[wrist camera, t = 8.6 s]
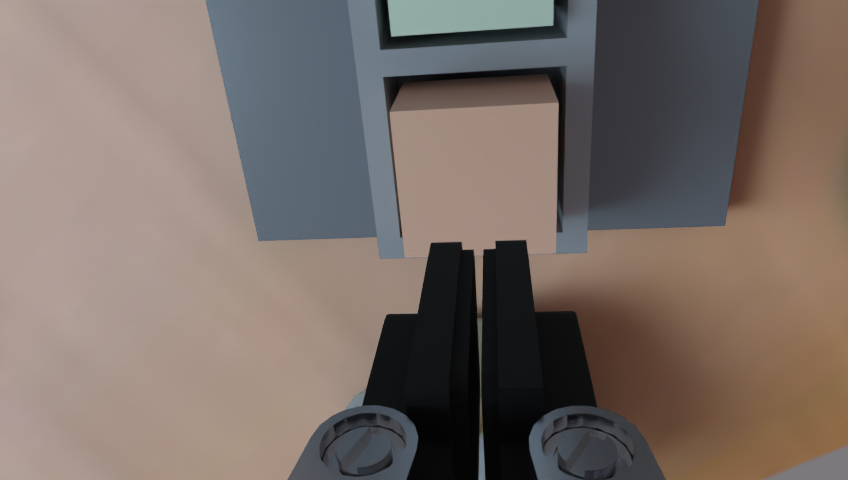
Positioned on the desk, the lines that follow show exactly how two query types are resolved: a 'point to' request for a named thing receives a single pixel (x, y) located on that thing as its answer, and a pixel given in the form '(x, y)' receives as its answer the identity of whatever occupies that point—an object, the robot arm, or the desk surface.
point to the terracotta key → (477, 162)
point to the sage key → (466, 15)
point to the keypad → (479, 58)
